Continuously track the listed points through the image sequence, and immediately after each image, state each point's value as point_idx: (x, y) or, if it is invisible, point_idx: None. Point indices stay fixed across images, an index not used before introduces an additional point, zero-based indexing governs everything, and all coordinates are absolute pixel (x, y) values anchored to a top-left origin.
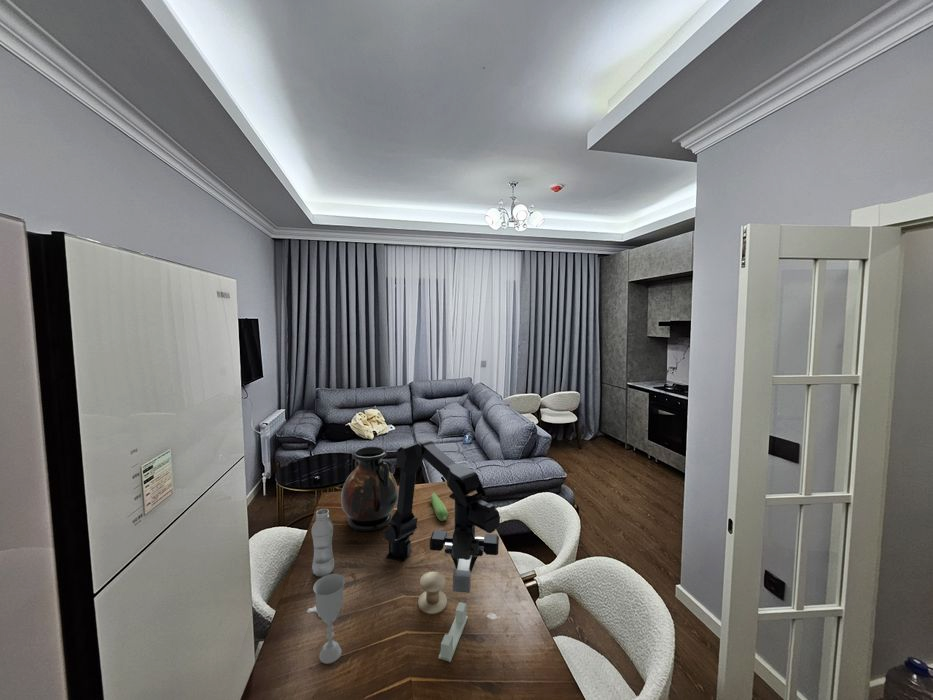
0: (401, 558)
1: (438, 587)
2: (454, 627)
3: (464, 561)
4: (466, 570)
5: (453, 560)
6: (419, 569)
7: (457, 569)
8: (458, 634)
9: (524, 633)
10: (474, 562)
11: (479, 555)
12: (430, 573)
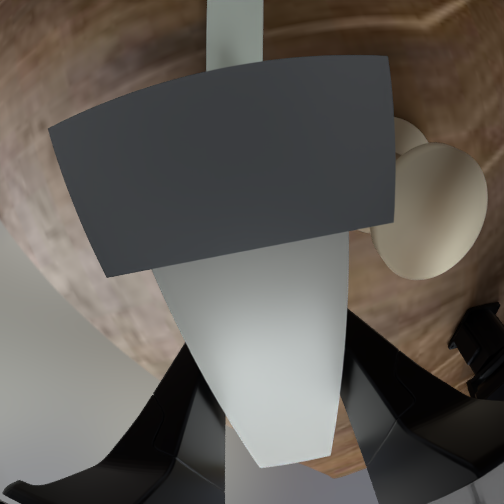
0: (474, 313)
1: (408, 167)
2: (246, 55)
3: (277, 389)
4: (191, 280)
5: (406, 360)
6: (432, 301)
7: (339, 258)
8: (215, 26)
9: (7, 163)
10: (150, 402)
11: (15, 496)
12: (450, 259)
